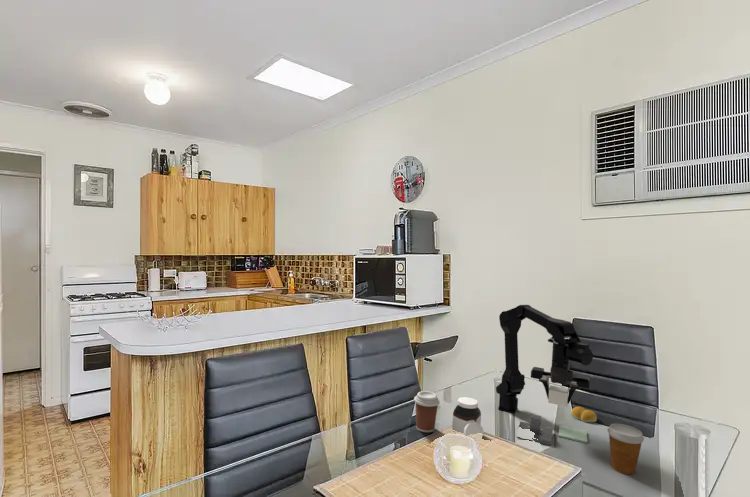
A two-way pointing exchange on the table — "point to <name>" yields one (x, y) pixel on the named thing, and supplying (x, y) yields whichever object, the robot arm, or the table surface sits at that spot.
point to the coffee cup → (426, 410)
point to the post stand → (538, 430)
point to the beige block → (558, 395)
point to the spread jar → (467, 417)
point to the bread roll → (583, 414)
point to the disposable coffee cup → (624, 447)
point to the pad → (573, 434)
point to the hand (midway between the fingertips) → (558, 401)
